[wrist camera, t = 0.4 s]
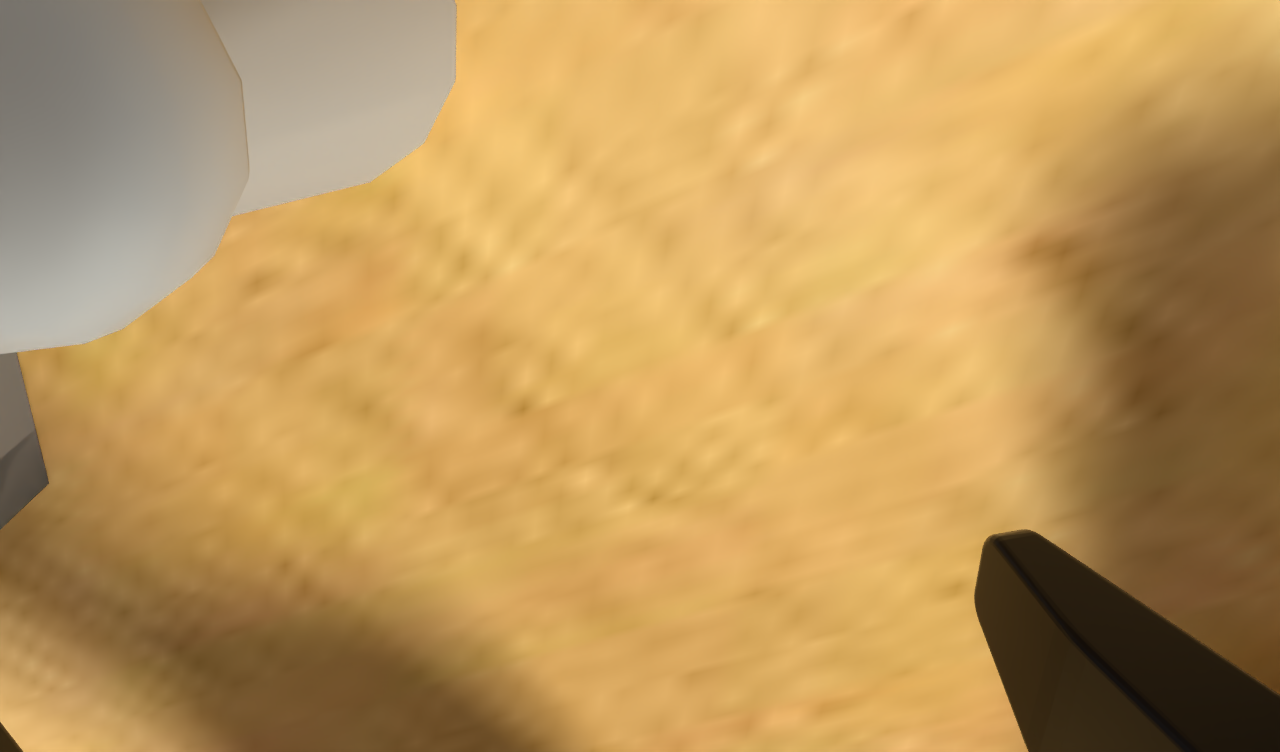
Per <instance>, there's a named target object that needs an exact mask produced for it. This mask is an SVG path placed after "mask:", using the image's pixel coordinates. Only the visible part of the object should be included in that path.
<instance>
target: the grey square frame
mask: <svg viewBox="0 0 1280 752" xmlns="http://www.w3.org/2000/svg"><path fill="white" fill-rule="evenodd" d="M48 484H49V481H48V477H47V473H46V469H45V465H44V461H43V457H42V453H41V449H40V445H39V441H38V437H37V433H36V429H35V425H34V421H33V417H32V413H31V409H30V405H29V401H28V397H27V393H26V389H25V385H24V381H23V377H22V373H21V369H20V365H19V361H18V357H17V353H16V352H14V353H6V354H0V529H2V528H3V527H4V526H5V525H6V524H7V523H8V522H9V521H10V520H11V519H12V518H13V517H14V516H15V515H16V514H17V513H18V512H19V511H20V510H21V509H22V508H24V507H25V506H26V505H27V504H28V503H29V502H30V501H31V500H32V499H33V498H34V497H35V496H36V495H37V494H38V493H39V492H40V491H41V490H42V489H43V488H45V487H46V486H47V485H48Z"/></svg>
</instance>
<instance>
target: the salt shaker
mask: <svg viewBox="0 0 1280 752" xmlns="http://www.w3.org/2000/svg"><path fill="white" fill-rule="evenodd" d="M455 79H456V3H455V0H0V354H6V353H14V352H22V351H30V350H38V349H46V348H54V347H62V346H70V345H78V344H85V343H88V342H90V341H93V340H95V339H98V338H101V337H103V336H106V335H108V334H111V333H113V332H116V331H119V330H121V329H123V328H125V327H126V326H127V325H129V324H130V323H132V322H133V321H134V320H136V319H137V318H138V317H140V316H141V315H142V314H144V313H145V312H146V311H148V310H149V309H150V308H152V307H153V306H154V305H156V304H157V303H158V302H160V301H161V300H162V299H164V298H165V297H166V296H168V295H169V294H170V293H172V292H173V291H174V290H176V289H177V288H178V287H180V286H181V285H182V284H184V283H185V282H187V281H188V280H189V279H191V278H192V277H193V276H194V275H195V274H196V273H197V272H198V271H199V270H200V269H201V268H202V267H203V266H204V265H205V264H206V263H207V262H208V261H209V260H210V259H211V258H212V257H213V256H214V255H215V253H216V251H217V248H218V246H219V244H220V242H221V240H222V237H223V235H224V233H225V231H226V228H227V226H228V224H229V222H230V220H231V217H232V216H235V215H239V214H243V213H247V212H251V211H255V210H259V209H263V208H267V207H271V206H276V205H280V204H284V203H288V202H292V201H296V200H300V199H304V198H308V197H312V196H316V195H320V194H324V193H328V192H332V191H336V190H340V189H344V188H349V187H353V186H357V185H361V184H365V183H369V182H371V181H372V180H374V179H375V178H377V177H378V176H379V175H381V174H382V173H384V172H385V171H386V170H388V169H389V168H390V167H392V166H393V165H395V164H396V163H397V162H399V161H400V160H402V159H403V158H404V157H406V156H407V155H408V154H410V153H411V152H413V151H414V150H415V149H417V148H418V147H420V146H421V145H422V144H424V142H425V140H426V138H427V136H428V134H429V132H430V130H431V128H432V126H433V124H434V122H435V120H436V118H437V116H438V114H439V112H440V110H441V108H442V106H443V105H444V103H445V101H446V99H447V97H448V95H449V93H450V91H451V89H452V87H453V85H454V83H455Z"/></svg>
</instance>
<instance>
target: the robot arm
mask: <svg viewBox="0 0 1280 752" xmlns="http://www.w3.org/2000/svg"><path fill="white" fill-rule="evenodd" d="M974 599H975V608H976V612H977V616H978V619H979V622H980V625H981V627H982V630H983V633H984V635H985V638H986V641H987V643H988V646H989V649H990V651H991V654H992V657H993V659H994V662H995V665H996V667H997V670H998V673H999V675H1000V678H1001V681H1002V683H1003V686H1004V688H1005V691H1006V694H1007V696H1008V699H1009V702H1010V704H1011V707H1012V710H1013V712H1014V715H1015V718H1016V720H1017V723H1018V726H1019V728H1020V731H1021V734H1022V736H1023V739H1024V742H1025V744H1026V747H1027V749H1028V751H1029V752H1280V695H1279V694H1278V693H1276V692H1275V691H1273V690H1272V689H1270V688H1269V687H1267V686H1266V685H1264V684H1263V683H1261V682H1260V681H1258V680H1257V679H1255V678H1254V677H1252V676H1251V675H1249V674H1248V673H1246V672H1245V671H1243V670H1242V669H1240V668H1239V667H1237V666H1236V665H1234V664H1233V663H1231V662H1230V661H1228V660H1227V659H1225V658H1224V657H1222V656H1221V655H1219V654H1218V653H1216V652H1215V651H1213V650H1212V649H1210V648H1209V647H1207V646H1206V645H1204V644H1203V643H1201V642H1200V641H1198V640H1197V639H1195V638H1194V637H1192V636H1191V635H1189V634H1188V633H1186V632H1185V631H1183V630H1182V629H1180V628H1179V627H1177V626H1176V625H1174V624H1173V623H1171V622H1170V621H1168V620H1167V619H1165V618H1164V617H1162V616H1161V615H1159V614H1158V613H1156V612H1155V611H1153V610H1152V609H1150V608H1149V607H1147V606H1146V605H1144V604H1143V603H1141V602H1140V601H1138V600H1137V599H1135V598H1134V597H1132V596H1131V595H1129V594H1128V593H1127V592H1125V591H1124V590H1122V589H1121V588H1119V587H1118V586H1116V585H1115V584H1113V583H1112V582H1110V581H1109V580H1107V579H1106V578H1104V577H1103V576H1101V575H1100V574H1098V573H1097V572H1095V571H1094V570H1092V569H1091V568H1089V567H1088V566H1086V565H1085V564H1083V563H1082V562H1080V561H1079V560H1077V559H1076V558H1074V557H1073V556H1071V555H1070V554H1068V553H1067V552H1065V551H1064V550H1062V549H1061V548H1059V547H1058V546H1056V545H1055V544H1053V543H1052V542H1050V541H1049V540H1047V539H1046V538H1044V537H1043V536H1041V535H1040V534H1038V533H1036V532H1033V531H1031V530H1017V531H1011V532H1005V533H999V534H994V535H991V536H989V537H988V538H987V539H986V541H985V542H984V545H983V549H982V554H981V560H980V565H979V571H978V576H977V582H976V587H975V595H974ZM0 752H23V751H22V749H21V748H20V747H19V746H18V744H17V743H16V742H15V740H14V739H13V738H12V737H11V735H10V734H9V733H8V731H7V730H6V729H5V727H4V726H3V725H2V724H1V722H0Z"/></svg>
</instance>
